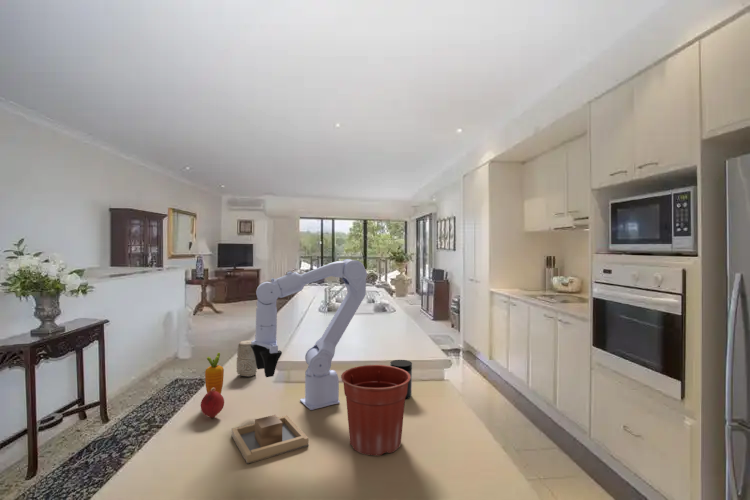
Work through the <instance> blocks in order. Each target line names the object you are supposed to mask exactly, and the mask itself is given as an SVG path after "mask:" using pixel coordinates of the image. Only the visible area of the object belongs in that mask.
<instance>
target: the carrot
mask: <svg viewBox="0 0 750 500" xmlns="http://www.w3.org/2000/svg"><path fill="white" fill-rule="evenodd" d="M220 356H221V353H220V352H217V354H216V356H215V358H214V359H212V358H211V357H210V356H207V357H206V360H207V361H208V363H209V364H210V365H209V366H208V367H207V368H205V371H204V377H205V378H204V380H205V390H206V394H207V393H208V392H210V390H211V389H212V388H216V390H215V391H217V392H219V393H220V394H221V395H222V391H223V385H224V376H225V374H224V371H225V369H224V367H223V366H221V365H218V363H219V361H220Z"/></svg>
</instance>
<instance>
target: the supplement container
mask: <svg viewBox="0 0 750 500" xmlns="http://www.w3.org/2000/svg"><path fill="white" fill-rule="evenodd" d="M389 364H390V365H389V366H393V367H397V368H400V369H403V370H405V371H407V372H408V373H409V374H410V376H411V378H410V381H409V382H408V388H407V395H406V397H405V401H406V400H409V399H410V398H412V394H413V393H412V391H413V390H412V387H413V384H412V383H413V382H412V380H413V378H412V377H413V376H412V373H413V372H412V371H413V362H412V361H410V360H407V359H394V360H391V361H390V363H389Z"/></svg>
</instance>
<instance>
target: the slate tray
mask: <svg viewBox="0 0 750 500" xmlns="http://www.w3.org/2000/svg"><path fill="white" fill-rule="evenodd" d="M277 417H278V416H277ZM278 418H279V419H280V420H281V422H282V442H278V443H275V444H271V445H268V446H264V447H260V445H259V444H258V442H257V441H256V439H255V422H254V423H251V424H246V425H241V426H238V427H233V428H231V438H232V439H233V442H234V444H235V445H236V448H237V449H238V450H239V453H240V454H241V455H242V457H243V459H244V460H245V463H246V464H247V465H248V464H252V463H255V462H258V461H262V460H265V459H268V458H272V457H275V456H279V455H282V454H285V453H288V452H292V451H296V450H299V449H302V448H306V447H308V446H309V437H308V436H307V435H306V433H305V432H304V431H302V429H301V428H300V427H298V425H297V424H296V423H295V422H294V421H293V420H292V419H291V418H290V417H289V415H287V414H286V415H282V416H279V417H278Z"/></svg>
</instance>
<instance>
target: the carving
mask: <svg viewBox="0 0 750 500" xmlns="http://www.w3.org/2000/svg"><path fill="white" fill-rule="evenodd" d="M251 341H254V339H253V340H252V339H247V340H242V341H239V343H238V345H237V351H236V354H237V355H236V356H237V357H236V374H237V375H238V376H241V377H253V376H256V374H257V372H258V371H257V370H258V369H257V365H256V360H255V356H254V352H253V350H252V348H251V345H252V344H251Z"/></svg>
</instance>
